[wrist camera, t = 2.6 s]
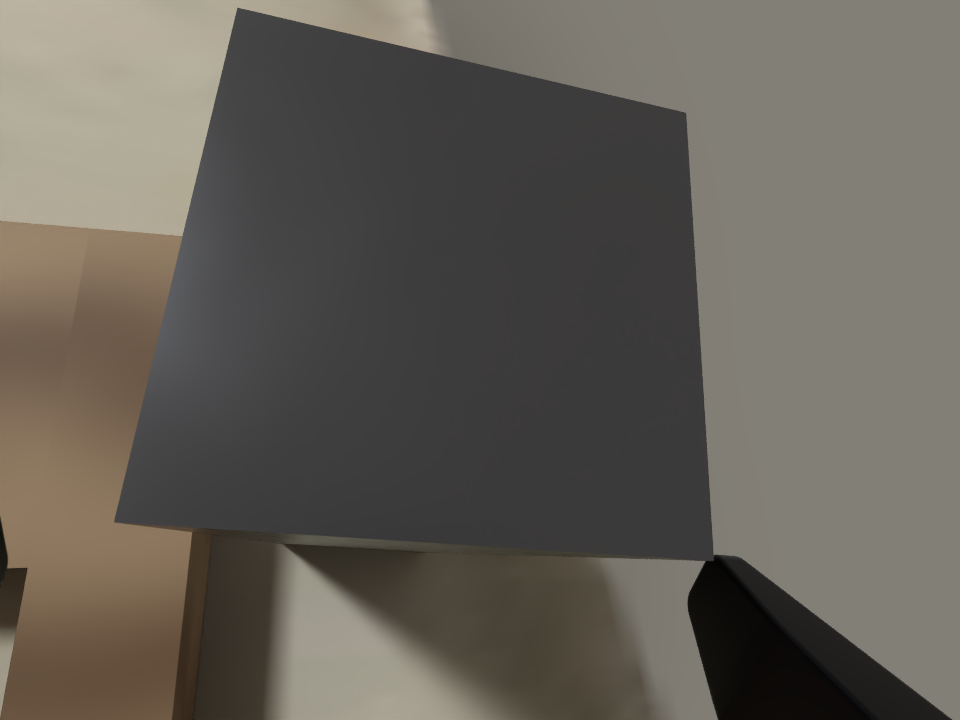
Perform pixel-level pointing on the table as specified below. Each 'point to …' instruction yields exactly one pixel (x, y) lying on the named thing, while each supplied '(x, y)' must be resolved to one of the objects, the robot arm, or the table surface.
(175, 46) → the table surface
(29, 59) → the table surface
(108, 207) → the table surface
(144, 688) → the post foot
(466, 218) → the dark grey square post
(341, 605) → the table surface
